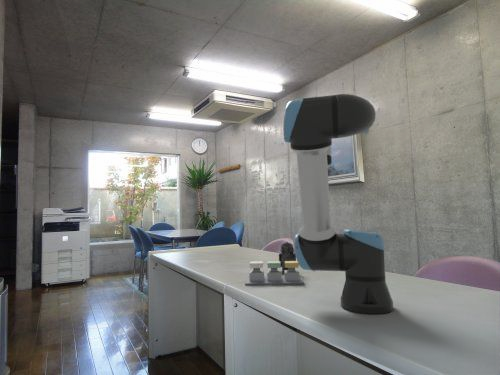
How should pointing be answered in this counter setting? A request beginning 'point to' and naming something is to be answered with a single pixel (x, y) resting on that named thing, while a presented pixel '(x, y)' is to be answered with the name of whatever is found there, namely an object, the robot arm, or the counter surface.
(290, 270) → the button ochre
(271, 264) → the button green
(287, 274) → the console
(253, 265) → the button white
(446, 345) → the counter surface
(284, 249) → the toy
